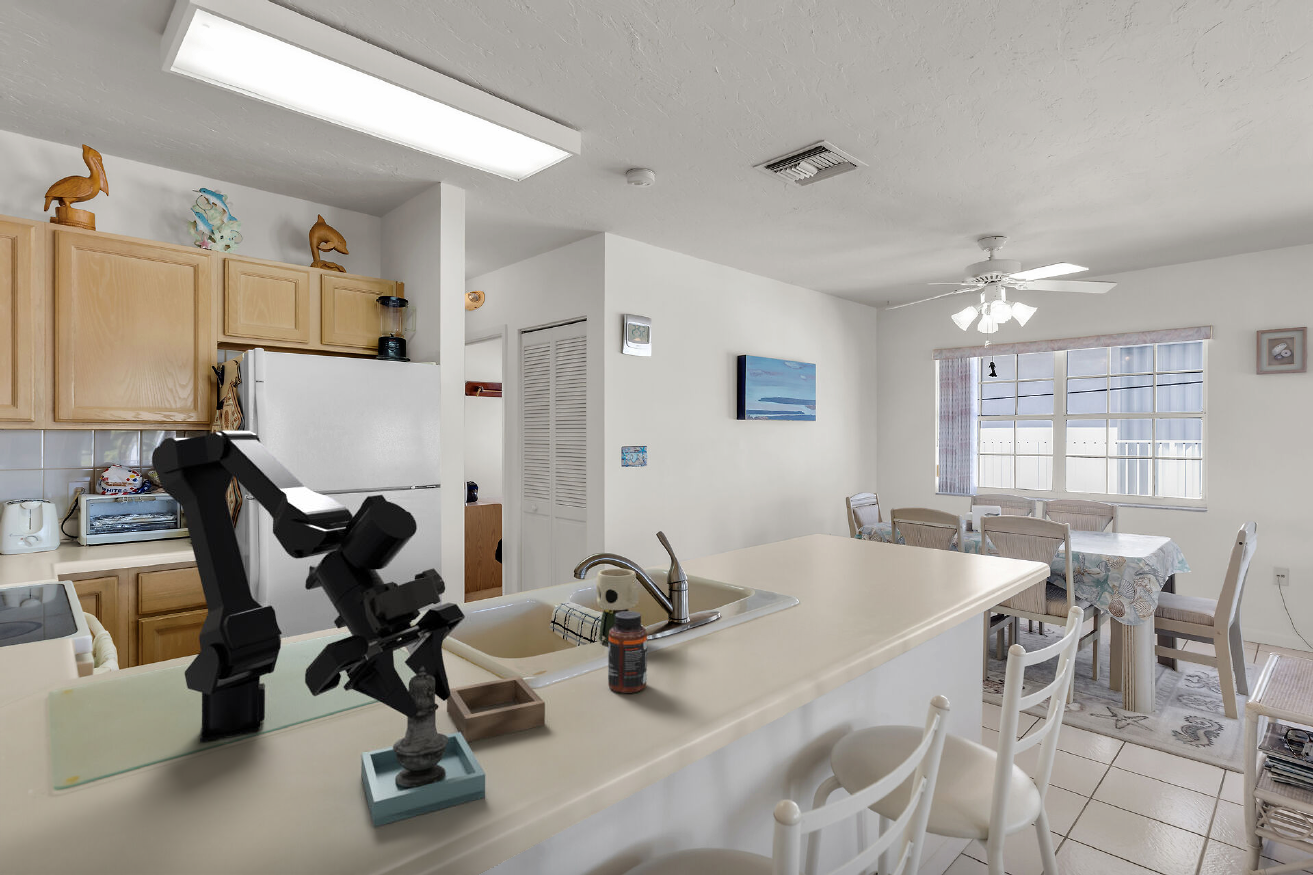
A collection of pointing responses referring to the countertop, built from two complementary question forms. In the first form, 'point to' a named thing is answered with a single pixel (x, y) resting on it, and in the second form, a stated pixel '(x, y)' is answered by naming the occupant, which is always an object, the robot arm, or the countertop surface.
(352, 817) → the countertop surface
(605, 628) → the character mug
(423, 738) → the salt shaker
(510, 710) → the box
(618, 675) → the supplement bottle
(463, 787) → the tray
